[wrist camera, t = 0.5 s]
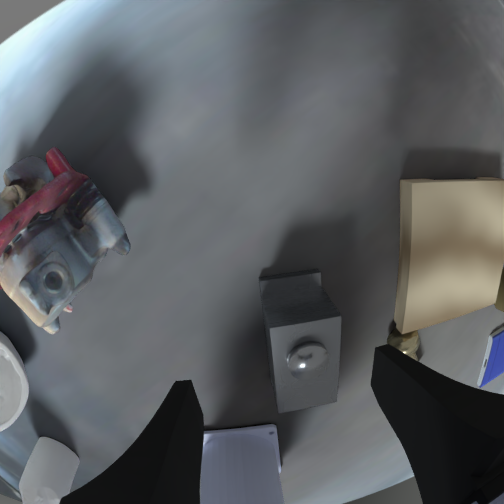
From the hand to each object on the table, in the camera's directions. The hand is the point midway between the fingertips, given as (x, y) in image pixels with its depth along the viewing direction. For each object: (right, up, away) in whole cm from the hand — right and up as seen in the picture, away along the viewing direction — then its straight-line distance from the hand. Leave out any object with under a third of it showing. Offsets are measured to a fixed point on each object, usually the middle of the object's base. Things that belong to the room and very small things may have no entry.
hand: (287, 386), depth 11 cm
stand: (+14, +6, +10) cm, 18 cm away
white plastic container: (-25, -19, +15) cm, 35 cm away
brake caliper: (-14, +7, +7) cm, 17 cm away
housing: (+2, 0, +11) cm, 11 cm away
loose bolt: (+12, -4, +13) cm, 18 cm away
